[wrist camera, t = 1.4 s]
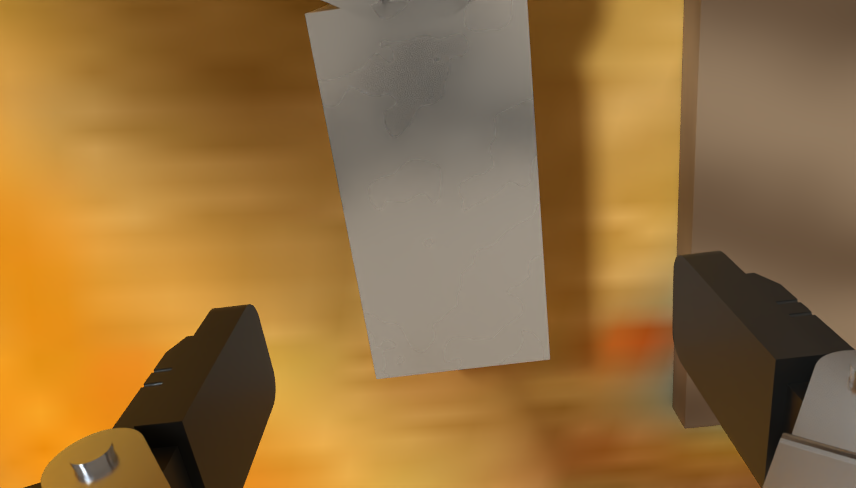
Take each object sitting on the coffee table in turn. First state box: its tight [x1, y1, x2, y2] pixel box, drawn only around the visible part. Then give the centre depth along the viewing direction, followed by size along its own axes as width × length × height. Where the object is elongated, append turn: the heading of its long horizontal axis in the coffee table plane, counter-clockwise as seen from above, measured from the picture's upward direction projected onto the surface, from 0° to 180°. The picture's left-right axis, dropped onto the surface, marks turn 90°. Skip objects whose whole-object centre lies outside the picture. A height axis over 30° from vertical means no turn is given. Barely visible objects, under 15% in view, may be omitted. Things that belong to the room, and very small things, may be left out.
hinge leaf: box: [305, 0, 550, 379], centre depth 17 cm, size 16×6×4 cm, turn 7°
